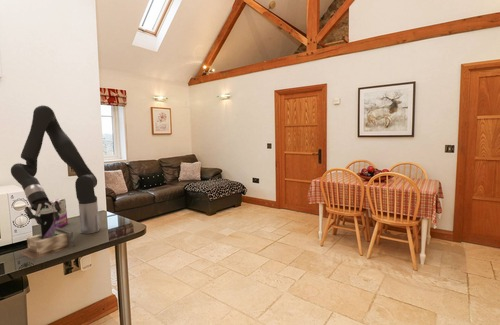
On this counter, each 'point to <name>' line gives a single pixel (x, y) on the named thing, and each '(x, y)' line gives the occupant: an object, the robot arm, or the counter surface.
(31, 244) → the socket block
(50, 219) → the spray can
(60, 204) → the candy bar box
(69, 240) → the backstop board
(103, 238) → the counter surface
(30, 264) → the counter surface
